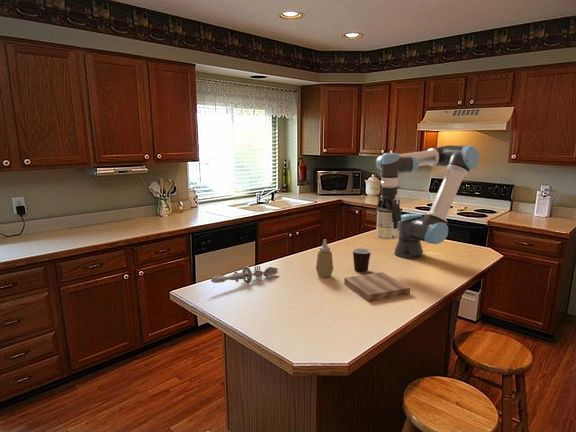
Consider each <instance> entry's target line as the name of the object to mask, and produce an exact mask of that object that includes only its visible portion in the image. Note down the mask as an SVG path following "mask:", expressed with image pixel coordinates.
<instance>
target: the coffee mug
mask: <svg viewBox="0 0 576 432" xmlns="http://www.w3.org/2000/svg"><path fill="white" fill-rule="evenodd" d="M371 253H372V251H371V250H370V249H367V248H362V247H360V248H354V249H352V256H353V268H354V269H353V270H354V271H355V272H357V273H360V274H364V273H367V272H368V270H369V264H370V259H371V258H370V257H371Z"/></svg>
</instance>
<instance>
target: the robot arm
mask: <svg viewBox="0 0 576 432" xmlns="http://www.w3.org/2000/svg"><path fill="white" fill-rule="evenodd" d="M479 163H480V154H479V151H478V149H477V148H476V147H475V146H473V145H467V144H466V145H452V144H451V145H442V146H438V147H437V146H436V147H433V148H428V149H427V150H424V151H423V150H422V151H413V152H407V153H398V152H385V153H383V154H382V155H379V156H378V157H376V160H375V167H376V168H377V169H378V170H381V180H380V186H381V187H380V195H378V197H377V204H376V209H375V215H376V216H377V208H378V207H381V208H386V207H387V206H388V208H389V209H390V210H394V213H393V212H392V219H393V221H392V224H391V235H397V228H398V238H397V239H398V240H397V243H396V245H395V248H394V255H395V256H396V257H398V258H403V259H410V260H414V259H420V258H423V256H424V251H423V247H422V244H421V241H422V242H426V243H427V244H432V245H439V244H441V243H442V242H444V241H445V240H446V238H447V237H448V234H449V226H448V220H447V216H448V213H449V212H450V209H451V207H452V205H453V202H454V199H455V197H456V195H457V194H458V190H459V188H460V186H461V183H462V182H463V179H464V177H465V176H467V175H469V174H470V171H471V170H474V169H476V168H477V167H478V165H479ZM421 166H422V167H423V166H430V167H436V166H437V167H445V170H446V173H445V175H444V177H443V179H442V181H441V185H440V186H439V189H438V191H437V194H436V196H435V197H434V200H433V202H432V205H431V206H430V209H429V211H428V212H426V213H424V215H423V214H422V213H404V214H401V213H402V212H401V207H400V199H396V196H397V195H398V184H399V174H401V173H402V174H407V173H409V174H411V173H414V172H416V171H418V169H419V168H420V167H421ZM398 218H399V219H398ZM398 221H399V222H398Z"/></svg>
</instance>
